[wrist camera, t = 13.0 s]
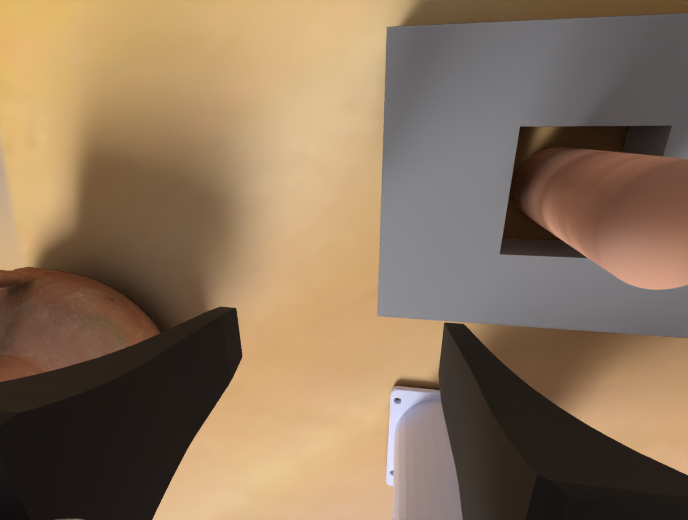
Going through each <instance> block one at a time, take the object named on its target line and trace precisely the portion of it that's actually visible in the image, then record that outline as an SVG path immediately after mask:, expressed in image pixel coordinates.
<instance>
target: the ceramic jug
mask: <svg viewBox="0 0 688 520" xmlns="http://www.w3.org/2000/svg"><path fill="white" fill-rule="evenodd" d="M157 334H160V331H159V330H158V328H157V327H156V325H155V324H154V323H153V322H152V320H151V319H150V318H149V317H148V316H147V315H146V314H145V313H144V312H143V311H142V310H141V309H140V308H139V307H138V306H137V305H136V304H135V303H133V302H132V301H131V300H130V299H129V298H127V297H126V296H124V295H123V294H121V293H120V292H118V291H117V290H115V289H113V288H111V287H109V286H107V285H106V284H103V283H101V282H99V281H96V280H94V279H91V278H88V277H85V276H81V275H77V274H72V273H66V272H61V271H50V270H44V269H39V268H33V267H25V268H19V269H15V270H12V271H5V270H0V382H2V381H7V380H12V379H17V378H22V377H26V376H31V375H36V374H40V373H44V372H48V371H52V370H56V369H60V368H64V367H67V366H71V365H74V364H77V363H81V362H84V361H88V360H91V359H95V358H98V357H101V356H104V355H107V354H110V353H112V352H115V351H118V350H121V349H124V348H126V347H129V346H132V345H134V344H137V343H139V342H141V341H144V340H146V339H148V338H151V337H153V336H155V335H157Z"/></svg>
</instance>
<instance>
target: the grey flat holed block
mask: <svg viewBox="0 0 688 520" xmlns="http://www.w3.org/2000/svg"><path fill="white" fill-rule="evenodd" d="M590 126H629V127H628V131H627V135H626V139H625V143H624V146H623V150H622V153H632V154H643V155H653V156H663V157H673V158H683V159H688V13H676V14H654V15H633V16H611V17H590V18H568V19H547V20H525V21H504V22H482V23H461V24H439V25H418V26H396V27H387V41H386V72H385V102H384V133H383V163H382V193H381V224H380V254H379V285H378V315H377V316H383V317H397V318H411V319H425V320H439V321H453V322H467V323H482V324H496V325H510V326H524V327H538V328H552V329H566V330H581V331H595V332H609V333H623V334H637V335H651V336H665V337H679V338H688V285H685V286H682V287H677V288H672V289H663V290H652V289H644V288H639V287H635V286H632V285H630V284H627V283H625V282H623V281H621V280H620V279H618V278H617V277H615V276H614V275H612V274H611V273H610V272H608V271H607V270H605V269H604V268H602V267H601V266H599V265H598V264H596V263H595V262H593V261H592V260H590V259H589V258H587V257H586V256H585V255H583V254H582V253H580V252H579V251H577V250H576V249H574V248H573V247H571V246H570V245H568V244H567V243H565V242H564V241H562V240H543V239H516V238H502V236H503V230H504V224H505V217H506V211H507V205H508V199H509V192H510V186H511V180H512V174H513V167H514V161H515V155H516V149H517V142H518V136H519V130H520V127H590Z"/></svg>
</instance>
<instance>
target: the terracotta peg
mask: <svg viewBox="0 0 688 520" xmlns="http://www.w3.org/2000/svg"><path fill="white" fill-rule="evenodd" d="M513 197H514V201H515V203H516V205H517V207H518V208H519V210H520V211H521V212H522V213H523V214H524V215H526V216H527V217H529V218H530V219H532V220H533V221H535V222H536V223H537V224H539V225H540V226H542V227H543V228H545V229H546V230H548V231H549V232H551V233H552V234H554V235H555V236H557V237H558V238H560V239H561V240H562V241H564V242H565V243H567V244H568V245H570V246H571V247H573V248H574V249H576V250H577V251H579V252H580V253H582V254H583V255H585V256H586V257H587V258H589V259H590V260H592V261H593V262H595V263H596V264H598V265H599V266H601V267H602V268H604V269H605V270H607V271H608V272H610V273H611V274H612V275H614V276H615V277H617V278H618V279H620V280H621V281H623V282H625V283H627V284H630V285H632V286H635V287H639V288H644V289H652V290H663V289H672V288H677V287H682V286H685V285H688V159H683V158H673V157H663V156H653V155H643V154H632V153H622V152H612V151H602V150H592V149H582V148H572V147H551V148H547V149H544V150H542V151H539V152H538V153H536V154H534V155H533V156H531V157H530V158H529V159H528V160H527V161H525V163H524V164H523V165H522V166H521V168H520V169H519V170H518V172H517V174H516V177H515V179H514V183H513Z"/></svg>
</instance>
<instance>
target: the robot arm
mask: <svg viewBox="0 0 688 520" xmlns="http://www.w3.org/2000/svg"><path fill="white" fill-rule="evenodd" d="M241 359H242V349H241V341H240V333H239V326H238V318H237V310H236V308H229V307H218V308H215V309H213V310H210V311H208V312H205V313H203V314H201V315H199V316H197V317H194V318H192V319H190V320H188V321H186V322H184V323H182V324H180V325H177V326H175V327H173V328H171V329H169V330H167V331H164V332H162V333H160V334H157V335H155V336H153V337H151V338H148V339H146V340H144V341H141V342H139V343H137V344H134V345H132V346H129V347H126V348H124V349H121V350H118V351H115V352H112V353H110V354H107V355H104V356H101V357H98V358H95V359H91V360H88V361H84V362H81V363H77V364H74V365H71V366H67V367H64V368H60V369H56V370H52V371H48V372H44V373H40V374H36V375H31V376H26V377H22V378H17V379H12V380H7V381H2V382H0V520H152V519H153V517H154V515H155V512H156V510H157V508H158V506H159V504H160V502H161V500H162V498H163V496H164V494H165V492H166V490H167V488H168V486H169V484H170V481H171V479H172V477H173V476H174V474H175V472H176V470H177V468H178V466H179V464H180V462H181V460H182V458H183V456H184V454H185V453H186V451H187V449H188V447H189V445H190V444H191V442H192V440H193V439H194V437H195V435H196V434H197V432H198V431H199V429H200V428H201V426H202V425H203V423H204V422H205V420H206V419H207V417H208V416H209V414H210V413H211V411H212V410H213V408H214V407H215V405H216V404H217V402H218V401H219V399H220V397H221V396H222V394H223V393H224V391H225V390H226V388H227V387H228V385H229V383H230V382H231V380H232V378H233V376H234V374H235V372H236V370H237V368H238V365H239V363H240V361H241ZM439 385H440V390H433V389H423V388H413V387H403V386H395V387H393V388H392V389H391V398H390V417H389V436H388V455H387V474H386V482H387V484H388V485H390V486H393V520H688V475H686V474H684V473H682V472H679V471H677V470H675V469H673V468H671V467H669V466H666V465H664V464H662V463H660V462H658V461H655V460H653V459H651V458H649V457H647V456H645V455H642V454H640V453H638V452H636V451H634V450H633V449H631V448H629V447H627V446H625V445H623V444H621V443H619V442H617V441H615V440H614V439H612V438H610V437H608V436H606V435H604V434H602V433H601V432H599V431H597V430H595V429H594V428H592V427H590V426H588V425H587V424H585V423H583V422H582V421H580V420H579V419H577V418H575V417H574V416H572V415H571V414H569V413H567V412H566V411H564V410H563V409H561V408H560V407H558V406H557V405H555V404H554V403H552V402H551V401H549V400H548V399H547V398H545V397H544V396H542V395H541V394H540V393H538V392H537V391H536V390H534V389H533V388H532V387H530V386H529V385H528V384H526V383H525V382H524V381H523V380H521V379H520V378H519V377H518V376H517V375H516V374H514V373H513V372H512V371H511V370H510V369H509V368H507V367H506V366H505V365H504V364H503V363H502V362H501V361H500V360H499V359H498V358H497V357H496V356H494V355H493V354H492V353H491V352H490V351H489V350H488V349H487V348H486V347H485V346H484V345H483V344H482V343H481V341H480V340H479V339H478V338H477V337H476V336H475V335H474V334H473V333H472V332H471V331H470V330H469V329H468V328H467V327H466V326H465V325H464V324H457V323H444V330H443V339H442V348H441V357H440V366H439ZM395 398H400V400H396V399H395Z"/></svg>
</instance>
